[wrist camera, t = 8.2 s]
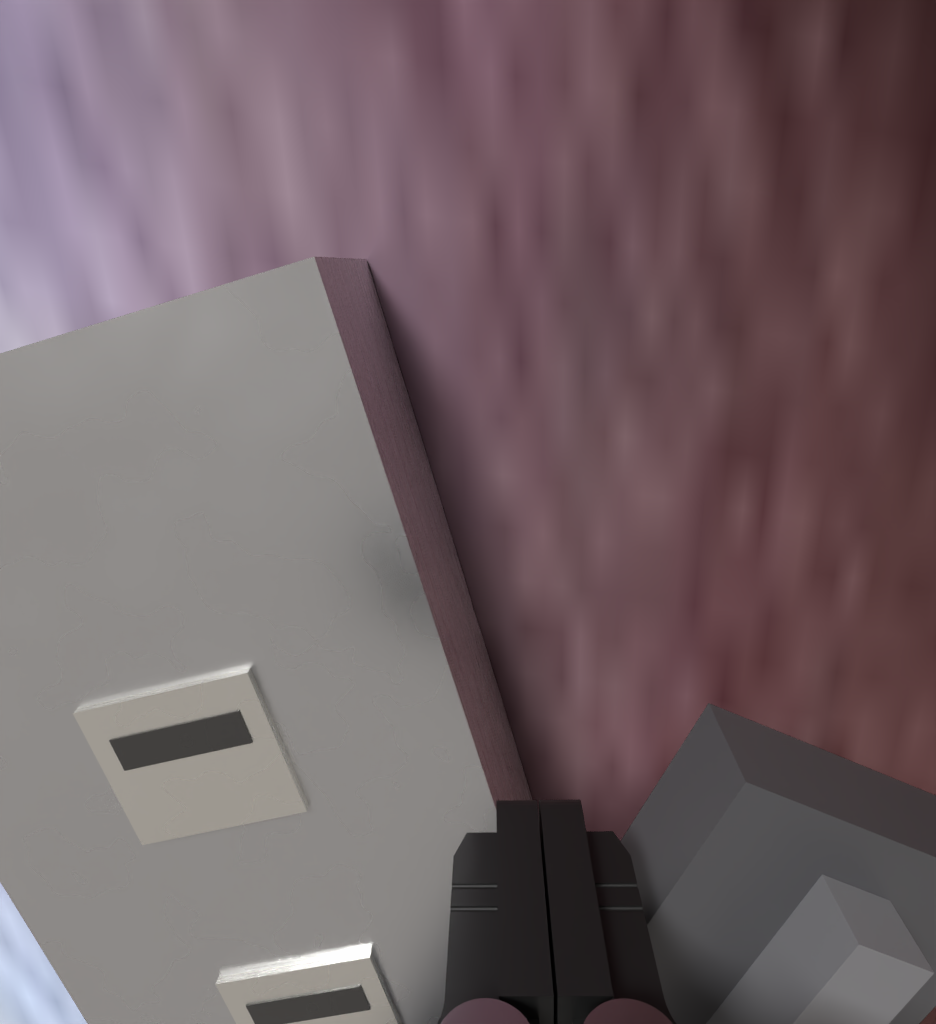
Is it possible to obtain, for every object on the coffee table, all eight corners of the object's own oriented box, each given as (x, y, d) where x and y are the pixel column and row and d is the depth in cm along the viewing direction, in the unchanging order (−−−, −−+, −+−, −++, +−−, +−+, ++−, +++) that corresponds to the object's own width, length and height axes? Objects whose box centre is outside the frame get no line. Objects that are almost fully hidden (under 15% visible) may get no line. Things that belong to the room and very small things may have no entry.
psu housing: (366, 259, 17) (286, 255, 11) (615, 1068, 25) (653, 1335, 19) (-76, 393, 18) (-376, 460, 12) (298, 1115, 27) (236, 1376, 21)
